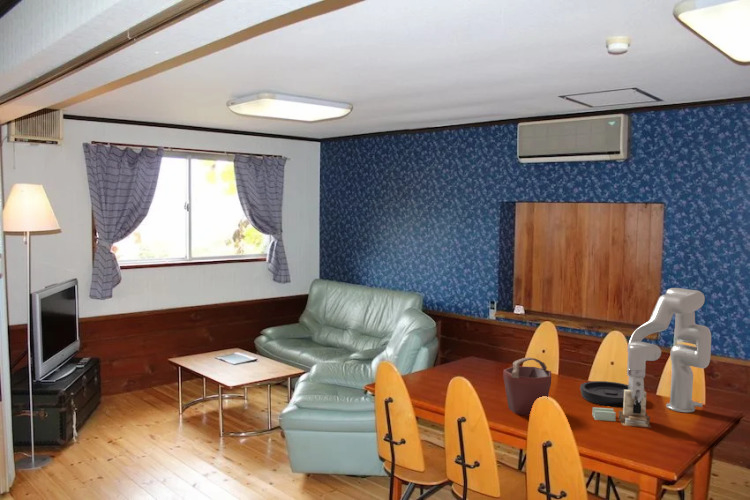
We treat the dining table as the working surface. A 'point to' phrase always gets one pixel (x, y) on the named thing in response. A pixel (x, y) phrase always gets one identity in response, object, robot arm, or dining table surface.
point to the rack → (623, 416)
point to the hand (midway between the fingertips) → (634, 409)
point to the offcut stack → (636, 421)
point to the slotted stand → (604, 414)
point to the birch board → (629, 404)
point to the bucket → (525, 385)
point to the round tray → (604, 393)
